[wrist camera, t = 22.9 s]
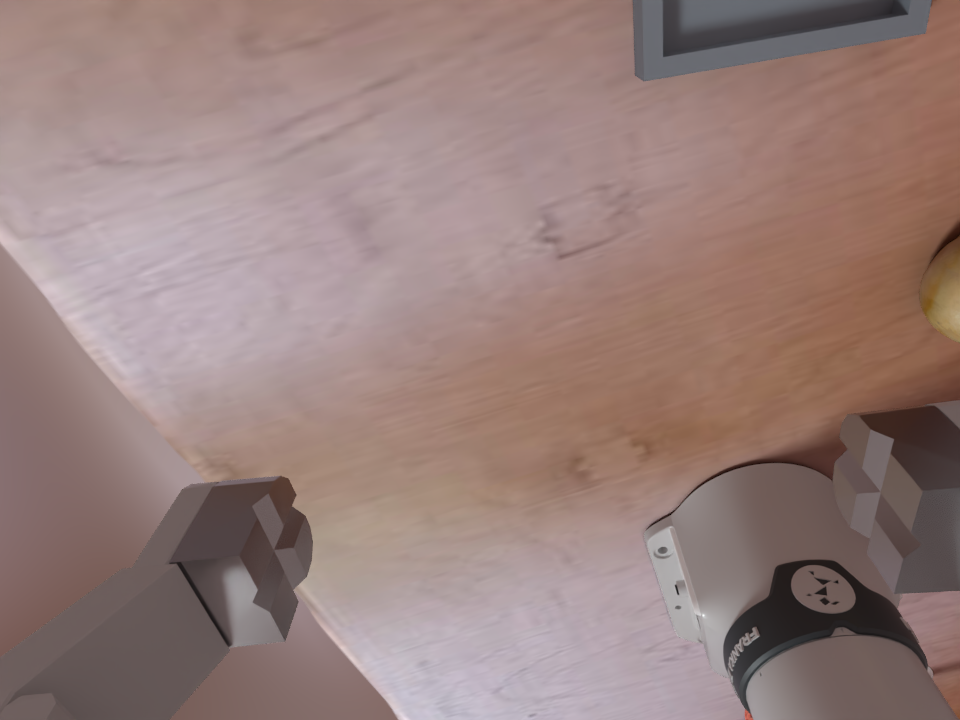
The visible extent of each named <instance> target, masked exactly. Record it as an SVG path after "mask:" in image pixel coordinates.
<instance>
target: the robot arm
mask: <svg viewBox="0 0 960 720" xmlns="http://www.w3.org/2000/svg"><path fill="white" fill-rule="evenodd" d="M839 438H840V439H841V441H842V442H843V443H844V445H845V446H846V447H847V450H846V451H845V452H844V453H843V454H842V455H841V456H840V457H839V458H838V459H837V460H836V461H835V464H834V472H833V481H831V480H830V479H829V478H828V477H826V476H825V475H823V474H821V473H819V472H817V471H815V470H813V469H810V468H807V467H804V466H799V465H794V464H786V463H766V464H757V465H751V466H746V467H742V468H739V469H735V470H732V471H729V472H727V473H724V474H722V475H720V476H718V477H716V478H714V479H712V480H710V481H708V482H707V483H705V484H703V485H702V486H701V487H699V488H698V489H697V490H695V491H694V492H693V493H692V494H691V495H690V496H689V497H688V498H687V499H686V500H685V501H684V502H683V503H682V504H681V505H680V506H679V508H678V509H677V510H676V511H675V512H674V513H673V514H671V515H670V516H668V517H666V518H664V519H663V520H661V521H659V522H657V523H655V524H654V525H652V526H651V527H649V528H648V529H647V530H646V531H645V533H644V540H645V543H646V546H647V549H648V552H649V555H650V558H651V561H652V564H653V567H654V570H655V573H656V576H657V579H658V583H659V586H660V589H661V592H662V595H663V598H664V601H665V604H666V607H667V610H668V613H669V616H670V619H671V622H672V625H673V627H674V630H675V632H676V634H677V636H678V637H679V638H682V639H685V640H688V641H691V642H696V643H701V644H703V646H704V649H705V652H706V656H707V659H708V662H709V665H710V667H711V669H712V670H713V671H714V672H715V673H717V674H719V675H721V676H723V677H726V678H729V679H730V682H731V684H732V687H733V689H734V691H735V693H736V695H737V696H738V698H739V699H740V700H741V703H742V704H743V706H744V708H745V709H746V710H745V719H746V720H959V719H958V718H957V716H956V715H955V713H954V712H953V710H952V709H951V707H950V706H949V704H948V702H947V701H946V699H945V698H944V696H943V695H942V693H941V692H940V690H939V689H938V687H937V686H936V684H935V683H934V681H933V679H932V678H931V676H930V675H929V673H928V672H927V670H928V664H927V659H926V656H925V654H924V652H923V651H922V649H921V647H920V646H919V644H918V643H919V641H918V639H917V637H916V635H915V634H914V632H913V630H912V629H911V627H910V626H909V624H908V623H907V622H906V621H905V620H904V619H903V617H902V616H901V614H900V613H899V611H898V610H897V608H898V605H899V601H900V599H901V598H902V594H904V593H923V592H942V591H960V400H955V401H947V402H940V403H932V404H926V405H924V406H915V407H906V408H897V409H888V410H880V411H871V412H862V413H854V414H847V416H846V417H845V419H844V421H843V422H842V425H841V430H840V435H839ZM295 497H296V493H295V491H294V489H293V487H292V485H291V483H290V481H289V479H288V478H285V477H282V476H274V477H262V478H250V479H239V480H227V481H221V482H210V483H198V484H191V485H189V486H187V487H186V488H184V489H182V490H181V492H180V494H179V495H178V497H177V498H176V500H175V501H174V503H173V504H172V506H171V507H170V509H169V511H168V512H167V514H166V515H165V517H164V518H163V520H162V521H161V523H160V525H159V526H158V528H157V529H156V531H155V532H154V534H153V535H152V537H151V539H150V540H149V542H148V543H147V545H146V546H145V548H144V549H143V551H142V553H141V554H140V556H139V557H138V559H137V560H136V562H135V563H134V565H133V567H132V568H124V569H121V570H119V571H118V572H117V573H115V574H114V575H112V576H111V577H110V578H108V579H107V580H106V581H104V582H103V583H102V584H100V585H99V586H97V587H96V588H95V589H93V590H92V591H91V592H89V593H88V594H86V595H85V596H84V597H82V598H81V599H80V600H78V601H77V602H75V603H74V604H73V605H71V606H70V607H69V608H67V609H66V610H64V611H63V612H62V613H60V614H59V615H58V616H56V617H55V618H54V619H52V620H51V621H49V622H48V623H47V624H45V625H44V626H42V627H41V628H40V629H38V630H37V631H36V632H34V633H33V634H32V635H30V636H29V637H27V638H26V639H25V640H23V641H22V642H21V643H19V644H18V645H17V646H15V647H14V648H12V649H11V650H10V651H8V652H7V653H5V654H4V655H3V656H2V657H0V720H170V719H171V717H172V716H173V715H174V714H175V713H176V712H177V711H178V709H179V708H180V707H181V706H182V705H183V704H184V703H185V701H186V700H187V699H188V698H189V697H190V696H191V695H192V693H193V692H194V691H195V690H196V689H197V688H198V686H200V684H201V683H202V682H203V681H204V680H205V679H206V678H207V676H208V675H209V674H210V673H211V672H212V671H213V670H214V669H215V667H216V666H217V665H218V664H219V663H220V662H221V661H222V659H223V658H224V657H225V656H226V654H228V652H229V651H230V649H229V647H239V646H248V645H258V644H267V643H276V642H285V640H286V638H287V635H288V631H289V629H290V626H291V623H292V620H293V617H294V613H295V611H296V608H297V604H298V600H297V597H296V595H295V593H294V591H293V589H294V588H295V587H296V586H297V585H298V584H300V583H301V582H302V581H303V580H304V579H305V578H306V577H307V574H308V571H309V568H310V564H311V561H312V547H313V540H312V535H311V529H310V526H309V523H308V521H307V518H306V516H305V515H304V514H302V513H301V512H299V511H298V510H296V509H295V508H293V507H292V504H293V502H294V499H295Z"/></svg>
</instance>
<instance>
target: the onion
mask: <svg viewBox="0 0 960 720" xmlns="http://www.w3.org/2000/svg"><path fill="white" fill-rule="evenodd" d="M919 299H920V305H921V308H922V311H923V313H924V314H925V316H926V318H927V319H928V321H929V322H930V324H931V325H932V326H933V327H934V328H935V329H936V330H938V331H939V332H940V333H941V334H943V335H945V336H946V337H948V338H950V339H952V340H954V341H956V342H959V343H960V235H959V236H958V237H957V239H955V240H953V241H952V242H950V243H948V244H947V245H946V246H945V247H944V248H943V249H942V250H941V251H940V252H939V253H938V254H937V255H936V256H935V257H934V259H933V260H932V262H931V263H930V265H929V266H928V268H927V270H926V271H925V273H924V275H923V278H922V280H921V285H920V290H919Z"/></svg>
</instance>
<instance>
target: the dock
mask: <svg viewBox="0 0 960 720" xmlns="http://www.w3.org/2000/svg"><path fill="white" fill-rule="evenodd" d="M931 2H932V0H633V21H634V55H635V76H637V77H638V78H640V79H641V80H643V81H649V80H654V79H660V78H666V77H672V76H678V75H684V74H690V73H696V72H701V71H707V70H713V69H719V68H725V67H731V66H737V65H743V64H749V63H754V62H760V61H766V60H772V59H778V58H784V57H790V56H796V55H801V54H807V53H813V52H819V51H825V50H831V49H837V48H843V47H849V46H854V45H860V44H866V43H872V42H878V41H884V40H890V39H896V38H901V37H907V36H913V35H919V34H925V33H926V28H927V23H928V17H929V12H930V7H931Z"/></svg>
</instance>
